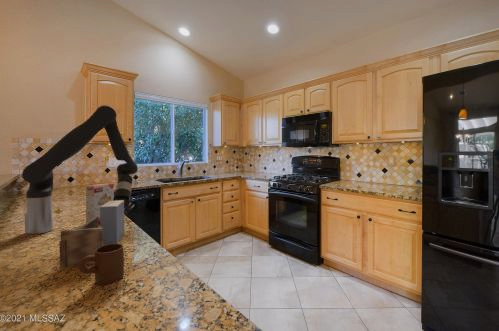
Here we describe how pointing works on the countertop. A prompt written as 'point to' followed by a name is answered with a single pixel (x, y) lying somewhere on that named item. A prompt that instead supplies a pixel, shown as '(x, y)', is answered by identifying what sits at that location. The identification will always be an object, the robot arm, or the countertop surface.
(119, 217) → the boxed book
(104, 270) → the mug
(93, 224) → the shelf corner
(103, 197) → the cracker box
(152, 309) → the countertop surface
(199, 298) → the countertop surface
